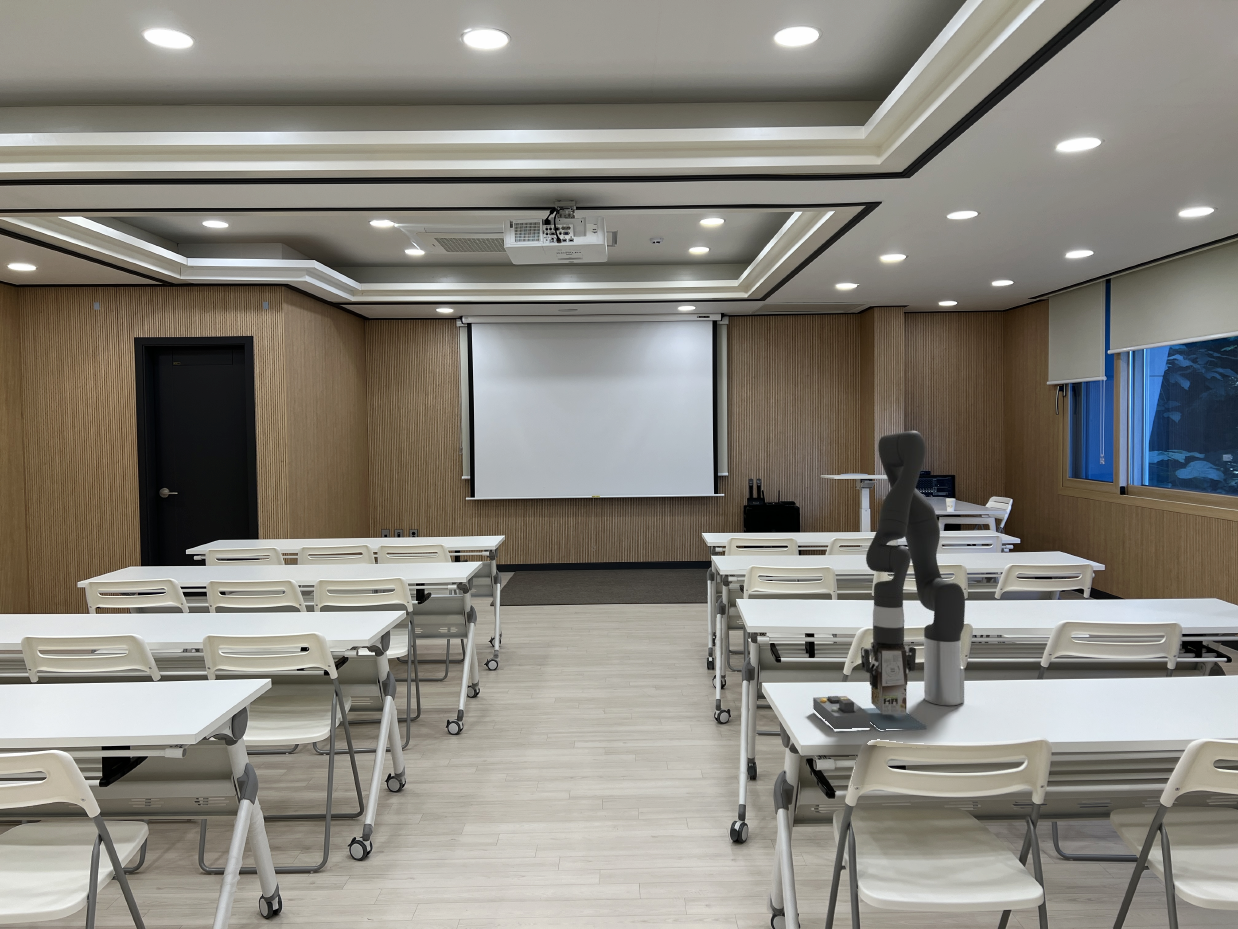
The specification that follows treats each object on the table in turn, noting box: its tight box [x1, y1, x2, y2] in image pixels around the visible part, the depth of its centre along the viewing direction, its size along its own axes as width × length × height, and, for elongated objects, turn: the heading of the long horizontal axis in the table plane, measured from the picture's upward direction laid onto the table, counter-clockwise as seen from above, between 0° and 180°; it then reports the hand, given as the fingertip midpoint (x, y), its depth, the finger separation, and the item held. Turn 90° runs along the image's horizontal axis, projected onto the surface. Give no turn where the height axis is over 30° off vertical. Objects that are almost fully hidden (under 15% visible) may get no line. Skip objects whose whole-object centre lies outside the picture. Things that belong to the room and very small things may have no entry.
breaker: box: [839, 697, 854, 713], centre depth 186 cm, size 3×3×3 cm
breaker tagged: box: [827, 695, 841, 704], centre depth 192 cm, size 3×3×3 cm
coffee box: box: [870, 642, 908, 715], centre depth 190 cm, size 9×6×16 cm
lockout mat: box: [862, 707, 927, 730], centre depth 190 cm, size 12×14×1 cm
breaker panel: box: [812, 695, 871, 729], centre depth 189 cm, size 14×9×5 cm, turn 7°
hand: (888, 687), depth 190 cm, fingers closed on coffee box, 7 cm apart
